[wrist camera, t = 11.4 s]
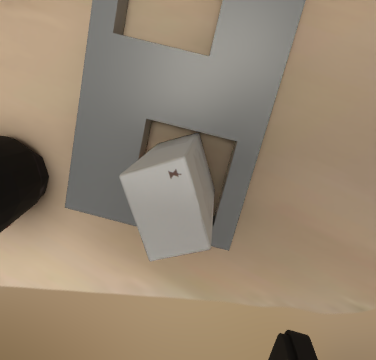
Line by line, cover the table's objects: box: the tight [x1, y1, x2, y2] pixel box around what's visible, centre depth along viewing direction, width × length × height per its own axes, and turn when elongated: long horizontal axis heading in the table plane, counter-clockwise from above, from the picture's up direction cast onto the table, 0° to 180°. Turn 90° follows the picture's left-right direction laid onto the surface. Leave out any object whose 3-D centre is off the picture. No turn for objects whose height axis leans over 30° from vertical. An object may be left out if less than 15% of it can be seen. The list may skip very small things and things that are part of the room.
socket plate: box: [65, 0, 306, 251], centre depth 26 cm, size 16×26×2 cm, turn 166°
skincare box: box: [119, 133, 215, 261], centre depth 24 cm, size 6×4×12 cm
